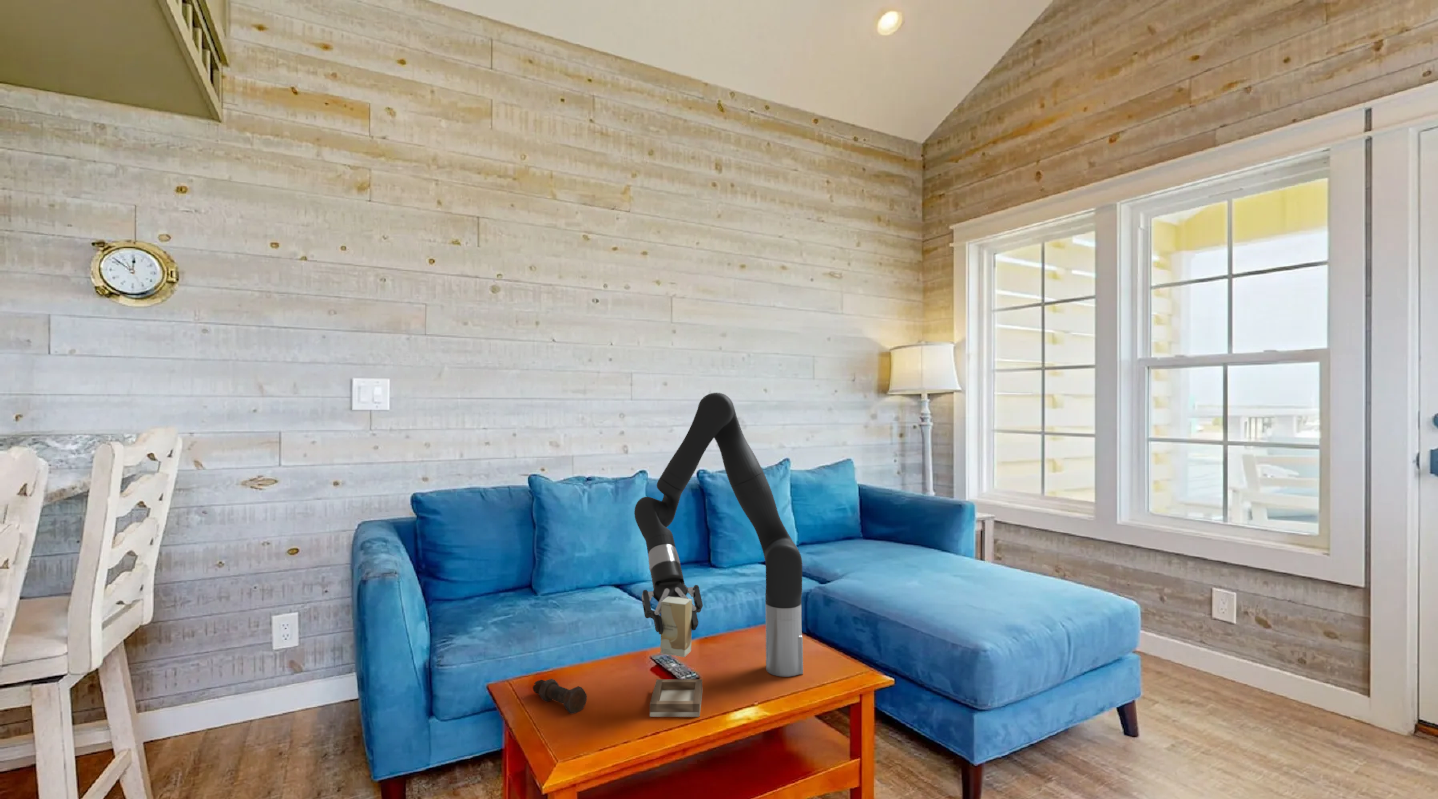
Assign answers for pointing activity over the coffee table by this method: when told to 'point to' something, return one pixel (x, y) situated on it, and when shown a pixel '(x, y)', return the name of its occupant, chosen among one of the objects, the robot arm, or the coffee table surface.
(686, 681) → the tray
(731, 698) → the coffee table surface
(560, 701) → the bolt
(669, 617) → the skincare box
